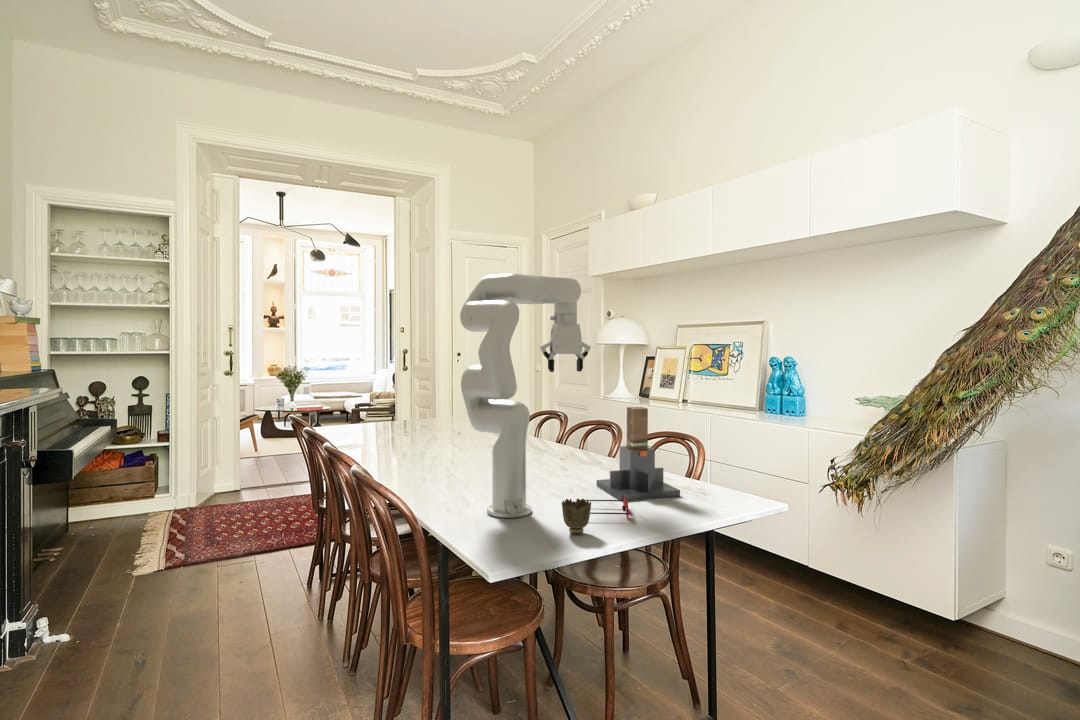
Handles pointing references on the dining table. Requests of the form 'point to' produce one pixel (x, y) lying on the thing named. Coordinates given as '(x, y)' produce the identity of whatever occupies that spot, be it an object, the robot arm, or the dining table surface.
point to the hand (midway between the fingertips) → (565, 371)
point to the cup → (576, 515)
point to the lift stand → (637, 477)
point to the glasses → (625, 506)
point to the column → (637, 428)
